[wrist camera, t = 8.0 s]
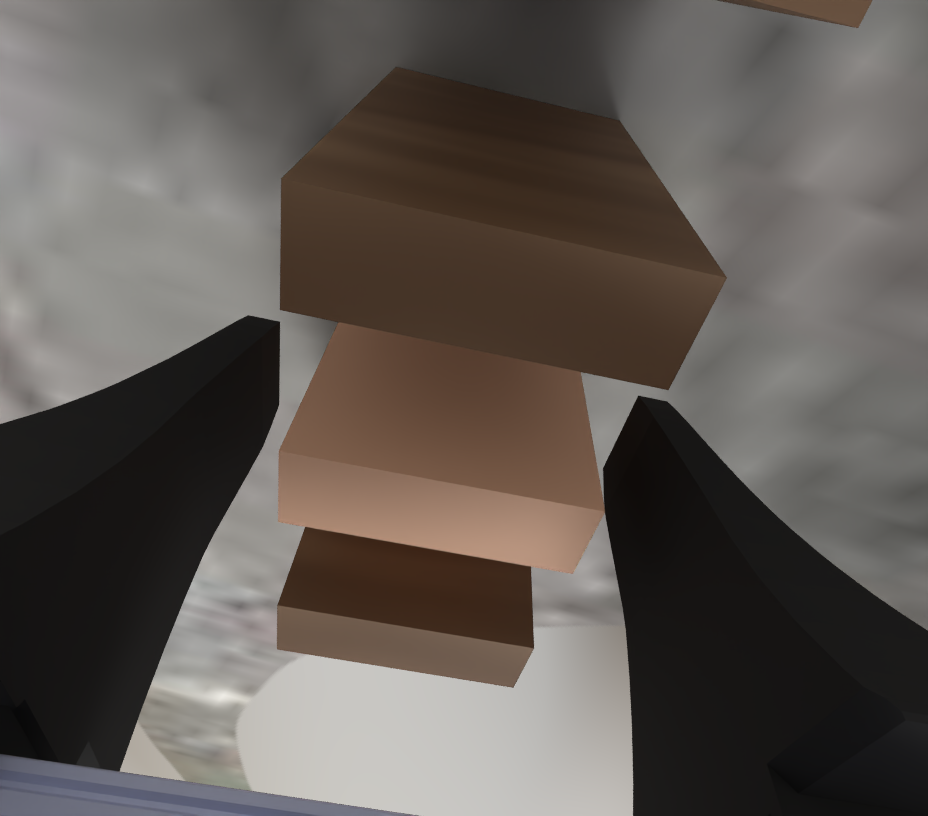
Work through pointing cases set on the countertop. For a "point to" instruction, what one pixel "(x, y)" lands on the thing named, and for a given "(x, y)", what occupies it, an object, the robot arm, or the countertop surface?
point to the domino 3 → (407, 608)
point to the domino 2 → (443, 451)
